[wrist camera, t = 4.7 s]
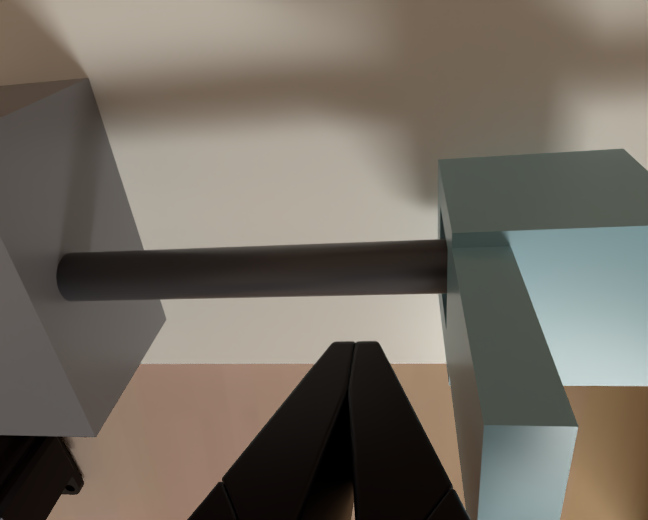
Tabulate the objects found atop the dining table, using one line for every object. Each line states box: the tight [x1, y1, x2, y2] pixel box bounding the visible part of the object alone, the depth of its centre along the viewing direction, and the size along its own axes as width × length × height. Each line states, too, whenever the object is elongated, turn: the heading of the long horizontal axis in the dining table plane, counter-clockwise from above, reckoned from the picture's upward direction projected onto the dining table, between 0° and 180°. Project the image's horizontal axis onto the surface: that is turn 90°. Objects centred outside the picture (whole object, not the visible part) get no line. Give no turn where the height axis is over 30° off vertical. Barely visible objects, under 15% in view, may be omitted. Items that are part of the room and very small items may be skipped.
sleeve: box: [438, 149, 648, 520], centre depth 10 cm, size 4×4×8 cm
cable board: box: [0, 0, 648, 437], centre depth 13 cm, size 26×12×8 cm, turn 96°
